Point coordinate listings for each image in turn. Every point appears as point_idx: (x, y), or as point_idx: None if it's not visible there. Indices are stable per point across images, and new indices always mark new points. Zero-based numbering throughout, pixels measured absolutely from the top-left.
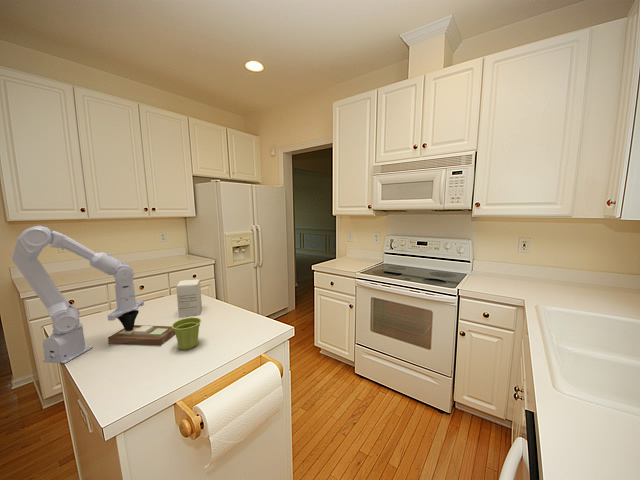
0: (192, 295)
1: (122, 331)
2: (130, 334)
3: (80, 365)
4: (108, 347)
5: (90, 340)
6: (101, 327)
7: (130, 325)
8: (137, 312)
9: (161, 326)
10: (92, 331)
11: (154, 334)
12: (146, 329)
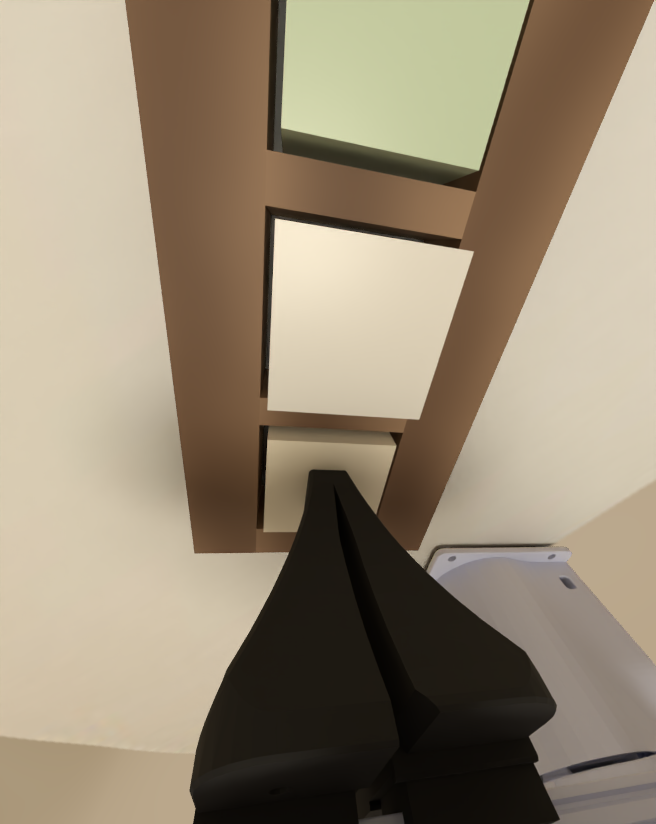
0: None
1: None
2: (401, 431)
3: (622, 478)
4: (451, 480)
5: None
6: (192, 652)
7: (369, 513)
8: (287, 700)
9: (159, 117)
10: None
11: (517, 34)
12: (405, 267)
